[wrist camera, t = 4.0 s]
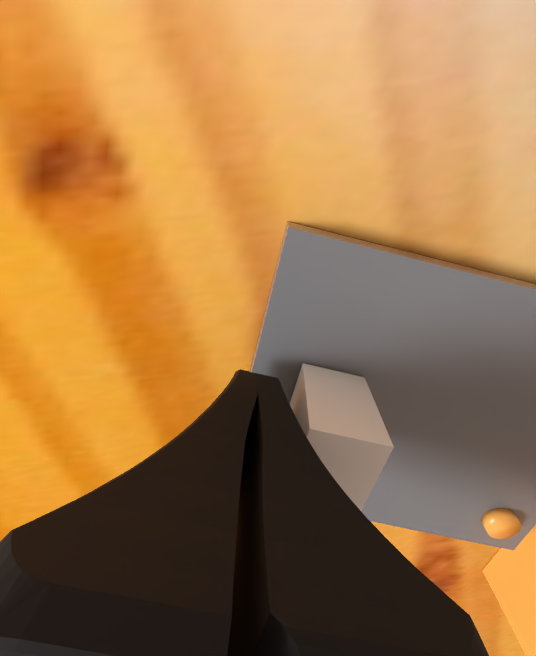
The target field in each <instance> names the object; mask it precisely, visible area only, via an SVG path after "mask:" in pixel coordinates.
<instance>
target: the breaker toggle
mask: <svg viewBox="0 0 536 656" xmlns="http://www.w3.org/2000/svg"><path fill="white" fill-rule="evenodd" d="M290 406H291V408H292V410H293V412H294V414H295V416H296V418H297V420H298V422H299V424H300V426H301V428H302V430H303V432H304V433H305V435H306V437H307V439H308V440H309V442H310V444H311V445H312V447H313V449H314V450H315V452H316V453H317V455H318V457H319V458H320V460H321V461H322V463H323V464H324V465H325V467H326V468H327V470H328V471H329V472H330V474H331V475H332V476H333V478H334V479H335V480H336V482H337V483H338V484H339V486H340V487H341V488H342V489H343V491H344V492H345V493H346V494H347V496H348V497H349V498H350V499H351V500H352V501H353V502H354V504H355V505H356V506H357V507H358V508H359V509H360V511H362V509H363V507H364V505H365V503H366V501H367V499H368V497H369V495H370V493H371V491H372V489H373V487H374V485H375V483H376V481H377V479H378V477H379V475H380V473H381V471H382V469H383V467H384V465H385V464H386V462H387V460H388V458H389V456H390V454H391V452H392V450H393V448H394V446H393V444H392V441H391V439H390V437H389V434H388V432H387V430H386V427H385V425H384V422H383V420H382V418H381V415H380V413H379V411H378V408H377V406H376V403H375V401H374V399H373V396H372V394H371V391H370V389H369V387H368V384H367V382H366V380H365V377H361V376H356V375H352V374H348V373H343V372H339V371H335V370H330V369H326V368H322V367H317V366H313V365H309V364H304V363H303V364H302V367H301V370H300V373H299V376H298V379H297V382H296V386H295V389H294V392H293V395H292V398H291V401H290Z"/></svg>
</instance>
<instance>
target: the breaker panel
mask: <svg viewBox="0 0 536 656" xmlns="http://www.w3.org/2000/svg"><path fill="white" fill-rule="evenodd" d="M303 363H304V364H309V365H313V366H317V367H322V368H326V369H330V370H335V371H339V372H343V373H348V374H352V375H356V376H361V377H365V380H366V382H367V384H368V387H369V389H370V391H371V394H372V396H373V399H374V401H375V403H376V406H377V408H378V411H379V413H380V415H381V418H382V420H383V422H384V425H385V427H386V430H387V432H388V434H389V437H390V439H391V441H392V444H393V446H394V448H393V450H392V452H391V454H390V456H389V458H388V460H387V462H386V464H385V465H384V467H383V469H382V471H381V473H380V475H379V477H378V479H377V481H376V483H375V485H374V487H373V489H372V491H371V493H370V495H369V497H368V499H367V501H366V503H365V505H364V507H363V509H362V511H361V512H362V513H363V514H364V515H365V516H366V517H367V519H368V520H369V521H373V522H378V523H383V524H387V525H392V526H397V527H402V528H407V529H412V530H417V531H421V532H426V533H431V534H436V535H441V536H446V537H451V538H455V539H460V540H465V541H470V542H475V543H480V544H485V545H489V546H494V547H499V548H504V549H509V550H515V548H516V547H517V546H518V545H519V544H520V542H521V541H522V540H523V539H524V538H525V536H526V535H527V534H528V533H529V532H530V531H531V529H532V528H533V527H534V526H535V525H536V284H533V283H529V282H525V281H521V280H517V279H513V278H509V277H506V276H502V275H498V274H494V273H490V272H486V271H482V270H478V269H474V268H470V267H466V266H462V265H458V264H454V263H450V262H446V261H442V260H438V259H434V258H431V257H427V256H423V255H419V254H415V253H411V252H407V251H403V250H399V249H395V248H391V247H387V246H383V245H379V244H375V243H371V242H367V241H363V240H359V239H356V238H352V237H348V236H344V235H340V234H336V233H332V232H328V231H324V230H320V229H316V228H312V227H308V226H304V225H300V224H296V223H292V222H287V226H286V230H285V234H284V238H283V242H282V246H281V250H280V254H279V258H278V262H277V266H276V270H275V274H274V278H273V282H272V286H271V290H270V294H269V298H268V302H267V306H266V310H265V314H264V318H263V322H262V326H261V330H260V334H259V338H258V342H257V346H256V350H255V354H254V358H253V362H252V366H251V370H250V372H253V373H258V374H262V375H267V376H271V377H276V378H278V379H279V381H280V382H281V385H282V387H283V390H284V392H285V395H286V397H287V399H288V402H289V404H290V401H291V398H292V395H293V392H294V389H295V386H296V382H297V379H298V376H299V373H300V370H301V367H302V364H303Z"/></svg>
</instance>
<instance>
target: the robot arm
mask: <svg viewBox="0 0 536 656" xmlns="http://www.w3.org/2000/svg"><path fill="white" fill-rule="evenodd" d="M0 656H489V655H488V653H487V650H486V648H485V646H484V644H483V642H482V640H481V638H480V635H479V633H478V631H477V629H476V627H475V625H474V623H473V621H472V619H471V617H470V615H468V614H467V613H466V612H465V611H464V610H463V609H462V608H461V607H459V606H458V605H457V604H456V603H455V602H454V601H453V600H452V599H451V598H449V597H448V596H447V595H446V594H445V593H444V592H443V591H442V590H440V589H439V588H438V587H437V586H436V585H435V584H434V583H433V582H431V581H430V580H429V579H428V578H427V577H426V576H425V575H424V574H422V573H421V572H420V571H419V570H418V569H417V568H416V567H415V566H414V565H413V564H412V563H410V562H409V561H408V560H407V559H406V558H405V557H404V556H403V555H402V554H401V553H400V552H399V551H398V550H397V549H396V548H395V547H394V546H393V545H392V544H391V543H390V542H389V541H388V540H387V539H386V538H385V537H384V536H383V535H382V534H381V532H380V531H379V530H378V529H377V528H376V527H375V526H374V525H373V524H372V523H371V522H370V521H369V520H368V519H367V517H366V516H365V515H364V514H363V513H362V512H361V511H360V509H359V508H358V507H357V506H356V505H355V504H354V502H353V501H352V500H351V499H350V498H349V497H348V496H347V494H346V493H345V492H344V491H343V489H342V488H341V487H340V486H339V484H338V483H337V482H336V480H335V479H334V478H333V476H332V475H331V474H330V472H329V471H328V470H327V468H326V467H325V465H324V464H323V463H322V461H321V460H320V458H319V457H318V455H317V453H316V452H315V450H314V449H313V447H312V445H311V444H310V442H309V440H308V439H307V437H306V435H305V433H304V432H303V430H302V428H301V426H300V424H299V422H298V420H297V418H296V416H295V414H294V412H293V410H292V408H291V406H290V404H289V402H288V399H287V397H286V395H285V392H284V390H283V387H282V385H281V382H280V381H279V379H278V378H276V377H271V376H267V375H262V374H258V373H253V372H249V371H244V370H238V371H236V372H235V375H234V377H233V378H232V380H231V381H230V383H229V384H228V386H227V387H226V388H225V389H224V391H223V392H222V393H221V394H220V395H219V396H218V398H217V399H216V400H215V401H214V402H213V403H212V404H211V405H210V407H209V408H208V409H207V410H205V411H204V412H203V413H202V414H201V415H200V416H199V417H198V418H197V419H196V420H195V421H194V422H193V423H192V424H191V425H190V426H189V427H187V428H186V429H185V430H184V431H183V432H181V433H180V434H179V435H178V436H177V437H175V438H174V439H173V440H171V441H170V442H169V443H168V444H166V445H165V446H164V447H162V448H161V449H159V450H158V451H157V452H155V453H154V454H152V455H151V456H149V457H148V458H147V459H145V460H144V461H142V462H141V463H139V464H138V465H136V466H134V467H133V468H131V469H130V470H128V471H126V472H125V473H123V474H121V475H119V476H118V477H116V478H114V479H112V480H111V481H109V482H107V483H106V484H104V485H102V486H100V487H99V488H97V489H95V490H93V491H92V492H90V493H88V494H86V495H84V496H82V497H80V498H78V499H77V500H75V501H72V502H70V503H68V504H66V505H64V506H62V507H60V508H58V509H56V510H54V511H52V512H50V513H48V514H45V515H43V516H41V517H39V518H37V519H35V520H33V521H31V522H29V523H27V524H25V525H22V526H20V527H18V528H16V529H13V530H11V531H10V532H9V533H8V534H7V535H6V536H5V537H4V538H3V540H2V541H1V542H0Z"/></svg>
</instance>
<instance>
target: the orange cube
mask: <svg viewBox="0 0 536 656" xmlns="http://www.w3.org/2000/svg"><path fill="white" fill-rule="evenodd" d="M483 573H484V575H485V577H486V579H487V581H488V583H489V585H490V587H491V589H492V590H493V592H494V594H495V596H496V598H497V600H498V602H499V604H500V606H501V608H502V610H503V612H504V614H505V616H506V618H507V620H508V622H509V624H510V625H511V627H512V629H513V631H514V633H515V635H516V637H517V639H518V641H519V643H520V645H521V647H522V649H523V651H524V653H525V655H526V656H536V525H535V526H534V527H533V528H532V529H531V531H530V532H529V533H528V534H527V535H526V536H525V538H524V539H523V540H522V541H521V542H520V544H519V545H518V546H517V547H516V548H515V550H509V549H504V548H500V550H499V551H498V552H497V553H496V555H495V556H494V557H493V558H492V560H491V561H490V562H489V563H488V564H487V566H486V567H485V568H484V569H483Z"/></svg>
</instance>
